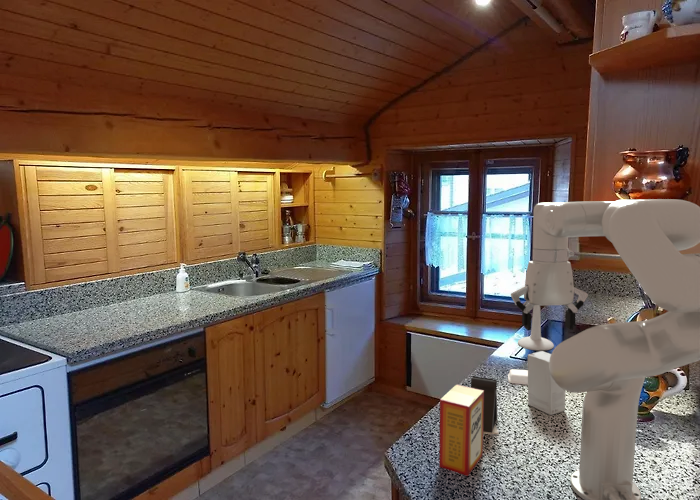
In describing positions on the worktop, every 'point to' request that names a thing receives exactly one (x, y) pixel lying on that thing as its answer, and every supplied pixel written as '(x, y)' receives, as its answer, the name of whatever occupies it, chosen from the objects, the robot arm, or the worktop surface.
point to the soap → (518, 376)
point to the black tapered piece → (487, 400)
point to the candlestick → (536, 334)
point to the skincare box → (543, 385)
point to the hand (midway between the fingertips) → (548, 328)
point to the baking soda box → (461, 429)
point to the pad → (492, 432)
